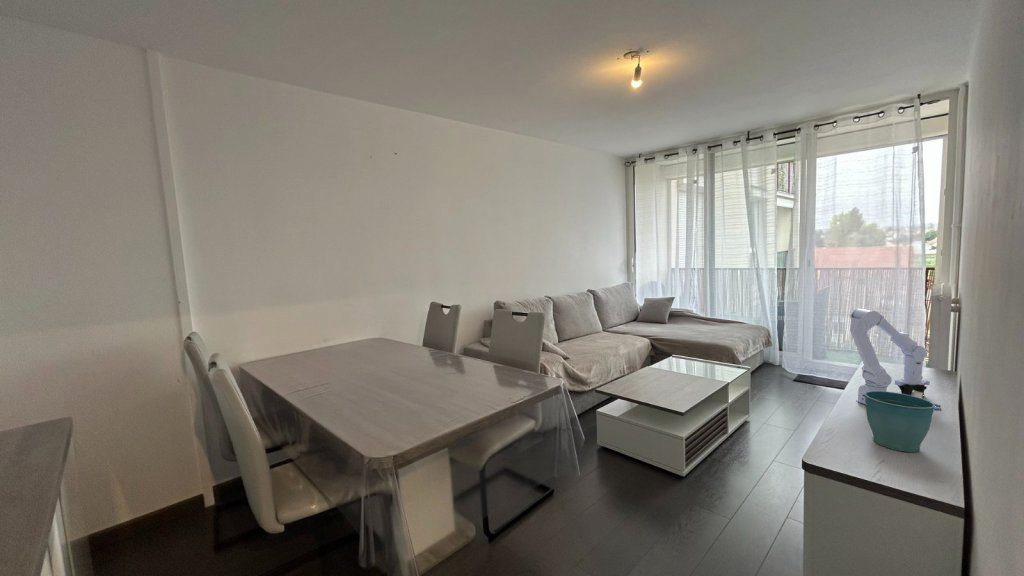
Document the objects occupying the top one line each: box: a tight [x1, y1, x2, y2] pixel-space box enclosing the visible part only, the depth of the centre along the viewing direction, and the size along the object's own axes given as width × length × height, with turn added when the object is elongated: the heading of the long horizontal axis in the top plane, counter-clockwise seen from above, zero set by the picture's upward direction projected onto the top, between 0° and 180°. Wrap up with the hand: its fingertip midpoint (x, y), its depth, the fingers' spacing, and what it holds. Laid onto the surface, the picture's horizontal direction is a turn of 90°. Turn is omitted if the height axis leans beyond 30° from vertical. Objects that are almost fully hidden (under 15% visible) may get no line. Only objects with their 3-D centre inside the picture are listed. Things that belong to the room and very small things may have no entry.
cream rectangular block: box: [900, 390, 923, 399], centre depth 182 cm, size 4×6×7 cm, turn 3°
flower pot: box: [864, 391, 935, 453], centre depth 143 cm, size 18×18×17 cm
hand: (911, 400), depth 182 cm, fingers closed on cream rectangular block, 3 cm apart
